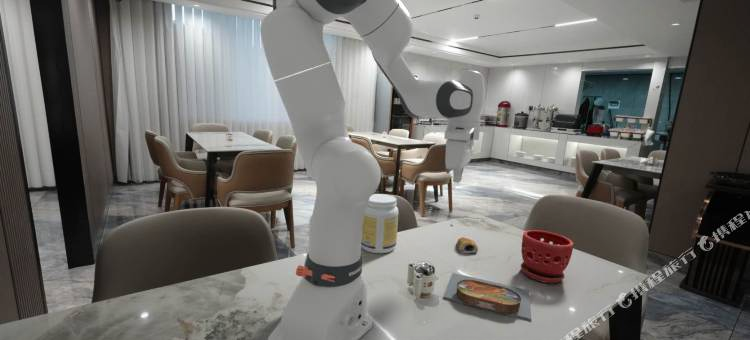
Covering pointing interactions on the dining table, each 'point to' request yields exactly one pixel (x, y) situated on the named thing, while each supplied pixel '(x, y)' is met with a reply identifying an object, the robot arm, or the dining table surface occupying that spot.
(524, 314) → the mat
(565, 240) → the plant pot
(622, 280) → the dining table surface
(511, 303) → the tin
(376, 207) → the supplement tub
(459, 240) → the pastry
